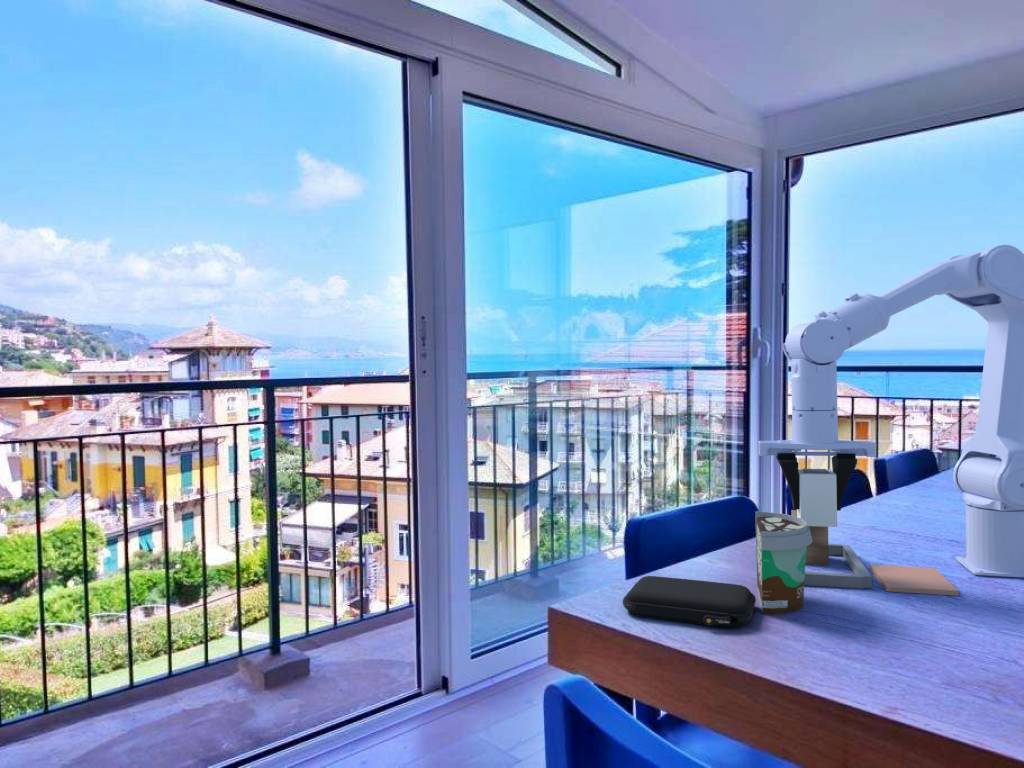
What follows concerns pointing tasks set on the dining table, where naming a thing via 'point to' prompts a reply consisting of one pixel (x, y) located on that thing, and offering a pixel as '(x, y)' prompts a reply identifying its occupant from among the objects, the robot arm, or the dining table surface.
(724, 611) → the carrying case or bag
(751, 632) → the dining table surface
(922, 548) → the dining table surface
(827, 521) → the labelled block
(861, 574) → the grey rectangular frame
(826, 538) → the walnut block
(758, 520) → the food container
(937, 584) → the terracotta mat
